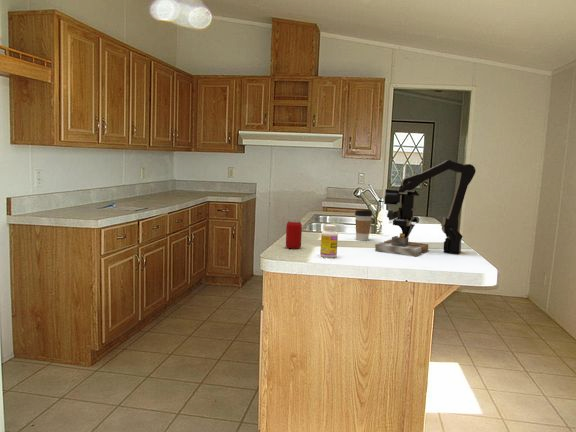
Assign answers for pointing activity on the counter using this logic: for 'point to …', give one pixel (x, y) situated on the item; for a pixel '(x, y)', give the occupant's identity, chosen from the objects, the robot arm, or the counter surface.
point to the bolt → (402, 235)
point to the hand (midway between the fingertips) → (405, 239)
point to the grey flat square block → (401, 247)
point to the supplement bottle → (329, 241)
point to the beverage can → (293, 234)
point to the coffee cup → (363, 224)
